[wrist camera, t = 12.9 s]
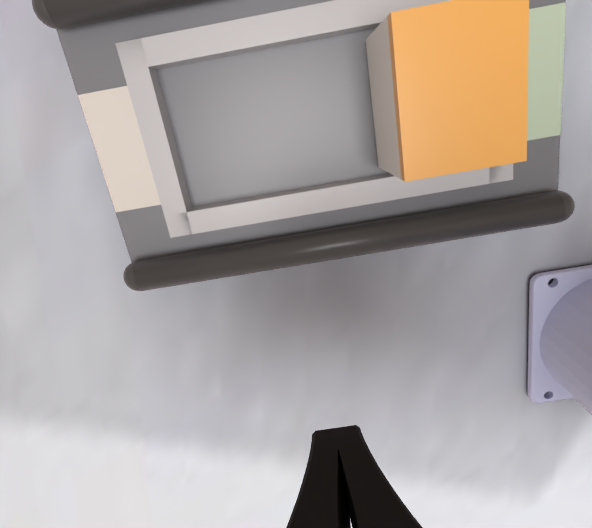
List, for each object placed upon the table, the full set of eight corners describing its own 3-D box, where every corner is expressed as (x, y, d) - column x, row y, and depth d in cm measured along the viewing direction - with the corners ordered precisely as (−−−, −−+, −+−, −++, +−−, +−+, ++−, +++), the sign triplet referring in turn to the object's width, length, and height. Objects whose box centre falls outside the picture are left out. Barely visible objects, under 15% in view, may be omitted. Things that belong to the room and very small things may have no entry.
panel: (551, -103, 16) (603, -148, 14) (542, 215, 21) (580, 230, 18) (58, -3, 17) (14, -26, 15) (147, 280, 22) (126, 303, 19)
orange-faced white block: (467, 20, 16) (529, -15, 12) (470, 150, 18) (526, 160, 13) (365, 39, 16) (390, 12, 12) (378, 166, 18) (405, 181, 14)
